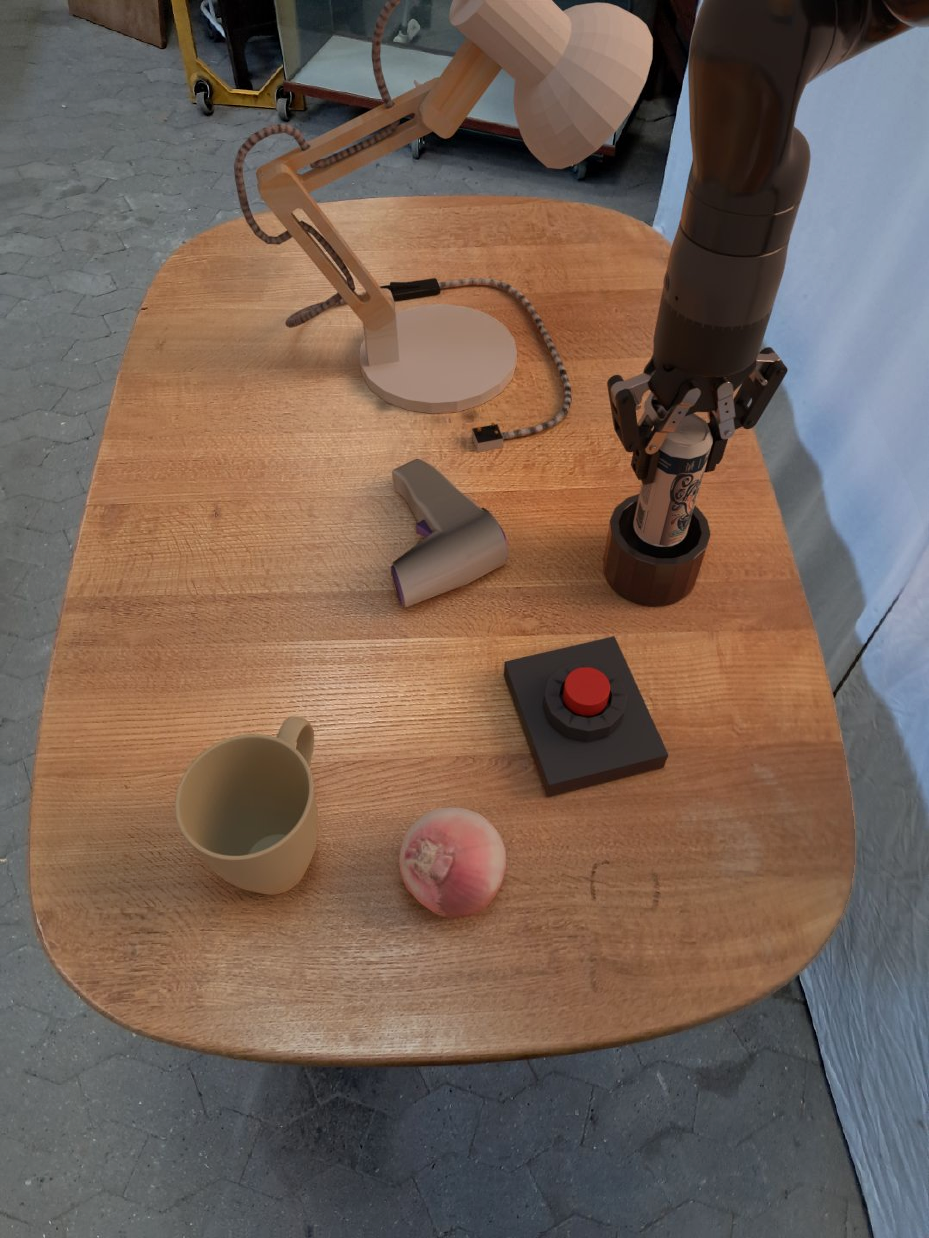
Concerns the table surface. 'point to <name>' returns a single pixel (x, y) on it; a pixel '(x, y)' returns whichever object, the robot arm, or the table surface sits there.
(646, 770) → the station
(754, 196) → the robot arm
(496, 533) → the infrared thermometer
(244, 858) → the mug
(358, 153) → the desk lamp
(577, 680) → the button
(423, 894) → the onion
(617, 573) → the holder
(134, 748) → the table surface
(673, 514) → the beer can
